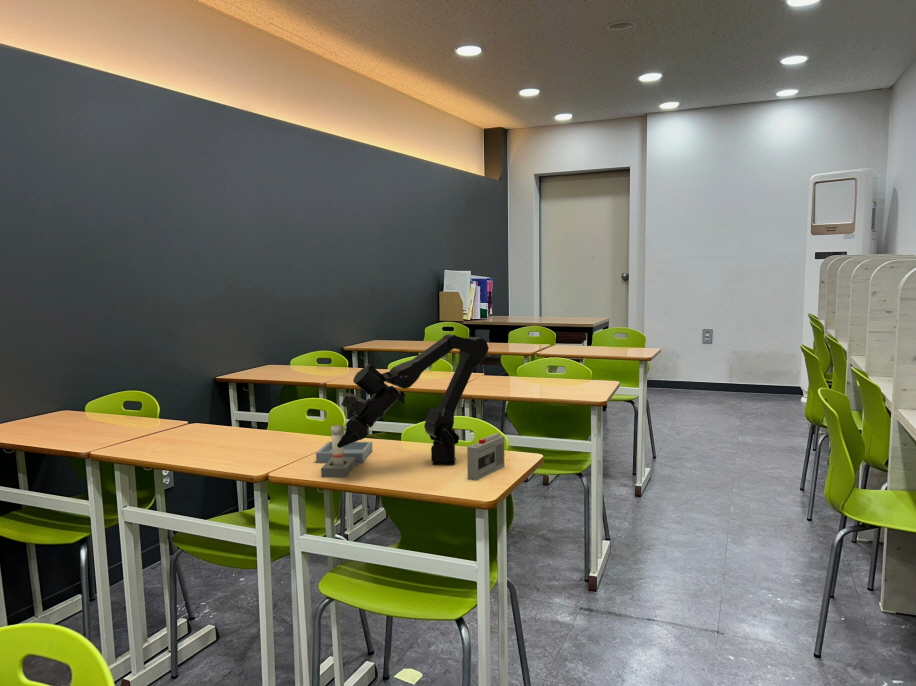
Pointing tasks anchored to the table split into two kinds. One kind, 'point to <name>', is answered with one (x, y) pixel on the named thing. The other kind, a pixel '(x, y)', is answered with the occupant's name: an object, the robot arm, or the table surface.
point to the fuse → (336, 451)
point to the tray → (346, 451)
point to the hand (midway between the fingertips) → (340, 442)
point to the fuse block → (338, 468)
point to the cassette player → (485, 456)
